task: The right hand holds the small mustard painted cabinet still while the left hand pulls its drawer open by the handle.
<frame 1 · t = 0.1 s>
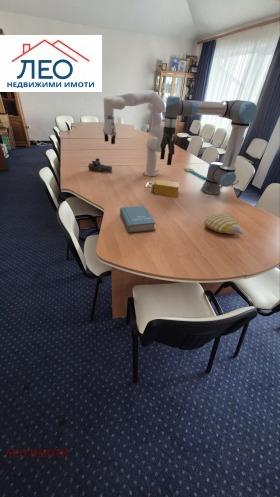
left hand: (109, 142, 172), 31 cm above the table, tool pointing down, fingers open, 9 cm apart
right hand: (165, 162, 149), 28 cm above the table, tool pointing down, fingers open, 13 cm apart
drawer: (159, 187, 176), point 4 cm above the table, slide at 1.1 cm
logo: (195, 173, 224), on the table
laser sight: (100, 171, 212), on the table
cabinet: (166, 193, 178), on the table
book: (136, 222, 137), on the table
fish: (222, 230, 136), on the table
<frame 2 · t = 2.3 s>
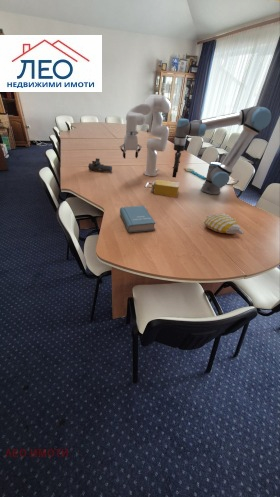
left hand: (130, 157, 172), 23 cm above the table, tool pointing down, fingers open, 9 cm apart
right hand: (175, 174, 168), 16 cm above the table, tool pointing down, fingers open, 13 cm apart
nothing on the table moved.
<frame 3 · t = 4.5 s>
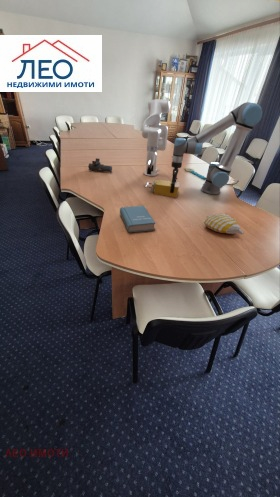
left hand: (150, 172, 171), 15 cm above the table, tool pointing down, fingers open, 7 cm apart
right hand: (172, 190, 175), 3 cm above the table, tool pointing down, fingers closed on cabinet, 11 cm apart
cabinet: (166, 193, 178), on the table, touching right hand
everything else where it was.
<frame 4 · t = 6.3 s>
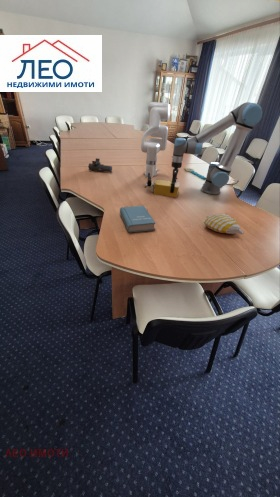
left hand: (149, 186, 177), 4 cm above the table, tool pointing down, fingers closed
right hand: (172, 190, 175), 3 cm above the table, tool pointing down, fingers closed on cabinet, 11 cm apart
drawer: (159, 187, 176), point 4 cm above the table, slide at 1.1 cm, touching left hand
cabinet: (166, 193, 178), on the table, touching right hand
everything else where it was.
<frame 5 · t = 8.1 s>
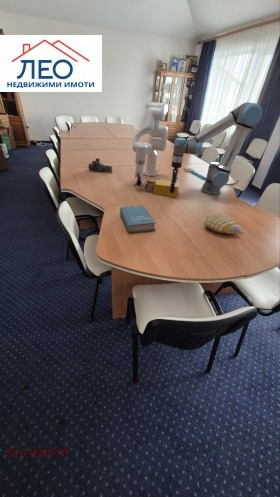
left hand: (138, 185, 179), 3 cm above the table, tool pointing down, fingers closed
right hand: (172, 190, 175), 3 cm above the table, tool pointing down, fingers closed on cabinet, 11 cm apart
drawer: (149, 185, 178), point 4 cm above the table, slide at 9.4 cm, touching left hand
cabinet: (165, 193, 178), on the table, touching right hand
everything else where it was.
when the right hand's fingers open (3 cm above the table, at t = 9.9 s): cabinet stays where it is, on the table.
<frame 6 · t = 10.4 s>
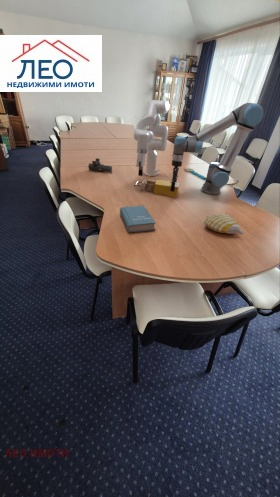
left hand: (140, 175, 175), 11 cm above the table, tool pointing down, fingers closed
right hand: (173, 188, 174), 5 cm above the table, tool pointing down, fingers open, 13 cm apart
drawer: (149, 185, 178), point 4 cm above the table, slide at 9.4 cm
cabinet: (165, 193, 178), on the table
everything else where it was.
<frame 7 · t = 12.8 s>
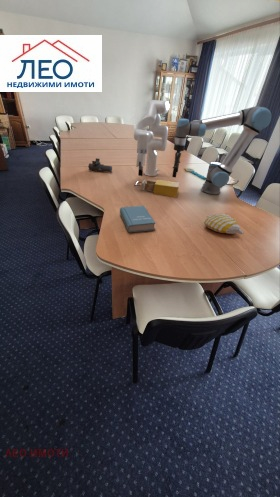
left hand: (140, 175, 175), 11 cm above the table, tool pointing down, fingers closed
right hand: (175, 174, 168), 16 cm above the table, tool pointing down, fingers open, 13 cm apart
nothing on the table moved.
at the end: drawer slide at 9.4 cm; cabinet tilted 0°; cabinet never tilted more than 1° during the clip; cabinet moved 0.1 cm from its start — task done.
